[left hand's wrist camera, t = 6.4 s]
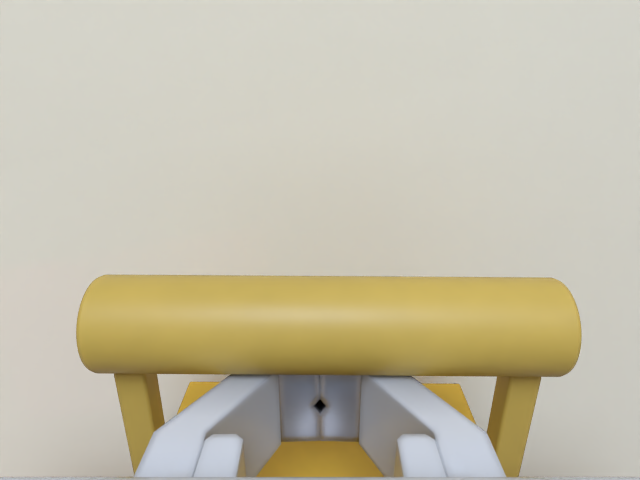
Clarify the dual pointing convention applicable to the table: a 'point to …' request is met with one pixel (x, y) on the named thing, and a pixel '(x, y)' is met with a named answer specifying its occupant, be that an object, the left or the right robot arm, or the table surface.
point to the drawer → (330, 345)
